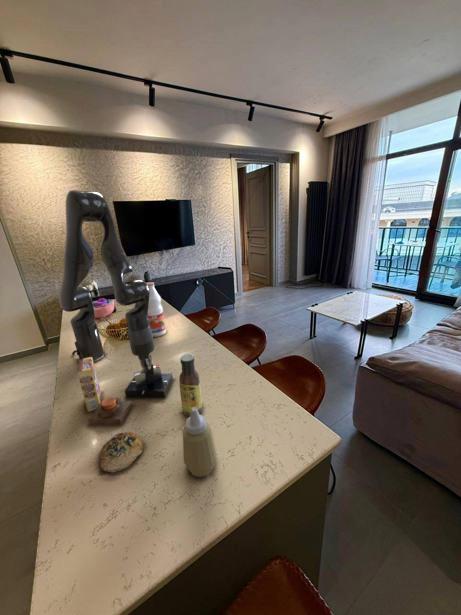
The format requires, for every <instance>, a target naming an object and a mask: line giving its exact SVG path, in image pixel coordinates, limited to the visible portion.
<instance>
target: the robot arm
mask: <svg viewBox="0 0 461 615" xmlns="http://www.w3.org/2000/svg"><path fill="white" fill-rule="evenodd" d="M65 197H66V198H65V227H66V229H65V246H64V255H63V270H62V279H61V284H60V288H59V293H58V302H59V305H60V307H61V309H62V310H63V311H64V312H66V313H67V312H68V313H72V312H76V311H78V312H77V313H76V314H75V315H74V316H73V317H72V318H71V319H70V325H71V328H72V332H73V335H74V337H75V341H74V346H75V350H73V351H72V353H71V355H72V356H75V354H76V355H77V356H78V359H79V360H81V359H85V358H89V357H92V359H93V363H94V362H98V361H100V360H102V359H104V357H105V355H106V354H105V351H104V346H103V343H102V339H101V336H100V333H99V328H98V324H97V321H96V318H95V312H94V307H93V302H94V301H93V298H92V294H91V292H90V290H89V289H88V287H87V286H84V285H81V284H82V282H83V281H84V280H85V279H86V278H87V277H88V275H89V274H90V273H91V271H92V269H93V265H94V258H95V253H94V249H93V248H92V246H91V244H90V243H89V242H88V240H87V239H86V237H85V235H84V233H83V223H89V222H90V223H92V222H94V223H97V222H98V224H99V225H100V227H101V229H102V237H101V238H102V239H101V243H100V256H101V258H102V261H103V263H104V265H105V267H106V269H107V271H108V273H109V276H110V281H111V285H112V291H113V297H114V299H115V301H116V303H118V304H119V305H120V306H123V307H127V306H131V305H134V306H133V307H132V308H130V309H129V310H127V311H126V312H125V314H124V318H125V321H126V328H127V337H128V341H129V345H130V350H131V354H132V355H133V356H135V357H137V359H138V361H139V365H140V367H141V370H143V371H144V372H145V376H146V381H147V384H151V383H153V376H152V375H154V370H153V367H154V366H155V365H153V358H152V355H151V353H153V352H154V350H155V343H154V337H153V336H152V331H151V328H150V324H149V318H148V306H149V297H150V291H149V287H148V285H147V282H146V281H145V280H143V279H141V278H138V279H134V280H133V279H132V280H130V281H126V282H125V281H124V279H125V278H127V277H129V276H130V275H131V274H132V273H133V270H134V269H133V266H132V264H131V262H130V260H129V258H128V256H127V254H126V252H125V250H124V248H123V246H122V243H121V241H120V238H119V235H118V231H117V228H116V225H115V222H114V218H113V215H112V213H111V209H110V207H109V206H110V205H109V204H108V202H107V200H106V198H105V196H104V195H103V194H102V193H100V192H98V191H92V190H91V191H90V190H78V189H77V190H76V189H73V190H72V189H71V190H69V191H68V192H67V193H66V196H65Z"/></svg>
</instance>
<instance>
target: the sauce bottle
mask: <svg viewBox="0 0 461 615" xmlns="http://www.w3.org/2000/svg"><path fill="white" fill-rule="evenodd" d="M180 365H181V372H180V374H179V379H178V380H179V381H178V382H179V392H180V393H179V394H180V401H181V408H182V412H183V414H184V415H185V416H187V417H191V409H192V408H193V407H196V408H197V410H198V413H199V414H201V412H202V409H203V407H202V405H203V402H202V401H203V400H202V391H201V380H200V374H199V372H198V371H197V369H196V367H195V356H194V355H193V354H191V353H187V354H183V355H181V357H180Z"/></svg>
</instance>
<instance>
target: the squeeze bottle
mask: <svg viewBox="0 0 461 615" xmlns="http://www.w3.org/2000/svg"><path fill="white" fill-rule="evenodd" d="M182 447H183V448H182V449H183V450H182V452H183V464H184V465H185V467H186V468H187V469H188V471H189V472H190V473H191V475H192V476H194V477H195V478H196V477H197V478H203V477H206V476H208V475H209V474H210V473H211V472H212V470H213V469H214V465H215V462H216V460H217V449H216V445H215V441H214V437H213V432H212V428H211V425H210V423H209V422H207V420H206V418H205V416H204V415H202V414H200V413H198V410H197V408H196V407H193V408H192V409H191V416H188V418H187V419H186V421H185V427H183V431H182Z"/></svg>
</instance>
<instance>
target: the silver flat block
mask: <svg viewBox="0 0 461 615" xmlns="http://www.w3.org/2000/svg"><path fill="white" fill-rule="evenodd" d="M153 366H154V367H153V370H154V375H152V376H153V382H154V381H157V380H160V379H162V374H163V373H162V369H161V366H160V364H156V365H153ZM133 378H135V382H136V386H137V387H140V386H143V385H146V384H147V381H146V376H145V372H144V371H143V370H142V369H141V370H139V371H135V372H133Z"/></svg>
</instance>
